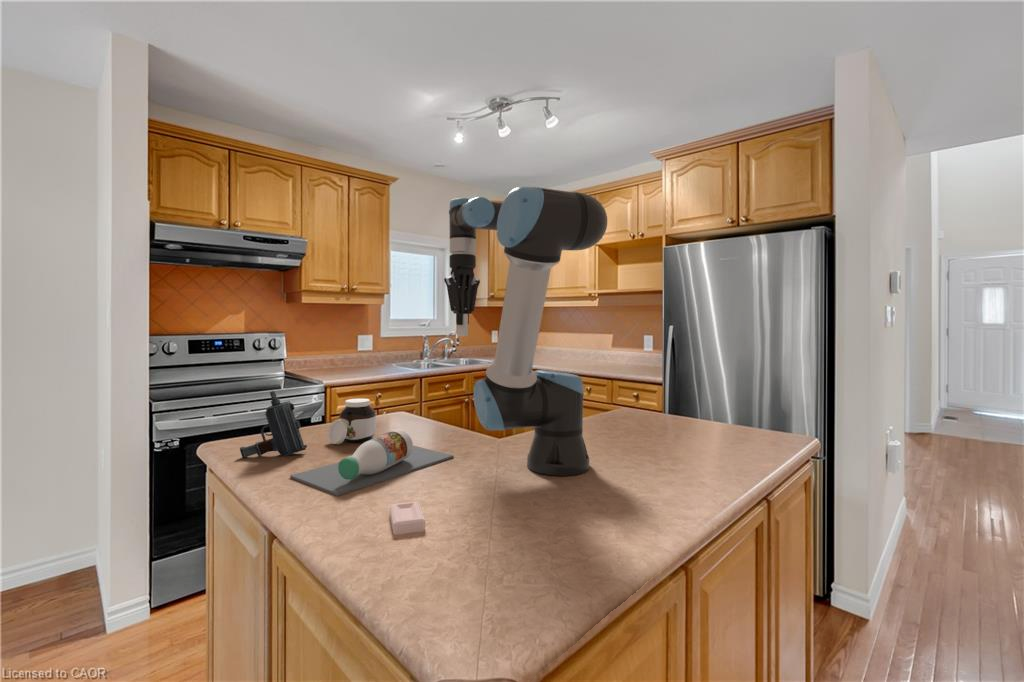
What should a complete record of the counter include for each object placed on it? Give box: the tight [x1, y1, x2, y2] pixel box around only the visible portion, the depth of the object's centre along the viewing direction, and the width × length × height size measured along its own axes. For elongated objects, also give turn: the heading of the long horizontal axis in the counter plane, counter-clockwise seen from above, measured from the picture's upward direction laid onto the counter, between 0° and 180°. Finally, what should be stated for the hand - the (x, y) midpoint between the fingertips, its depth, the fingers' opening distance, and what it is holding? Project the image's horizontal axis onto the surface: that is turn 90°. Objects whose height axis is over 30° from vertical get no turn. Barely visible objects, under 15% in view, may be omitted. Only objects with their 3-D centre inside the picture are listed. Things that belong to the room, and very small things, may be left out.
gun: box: [239, 390, 308, 459], centre depth 128 cm, size 3×17×15 cm
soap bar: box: [389, 501, 426, 536], centre depth 89 cm, size 5×9×2 cm, turn 18°
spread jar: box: [327, 398, 378, 445], centre depth 144 cm, size 12×11×12 cm
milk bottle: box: [338, 429, 414, 479], centre depth 115 cm, size 8×8×20 cm
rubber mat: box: [289, 445, 455, 497], centre depth 120 cm, size 34×18×1 cm, turn 143°
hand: (462, 336), depth 145 cm, fingers closed
